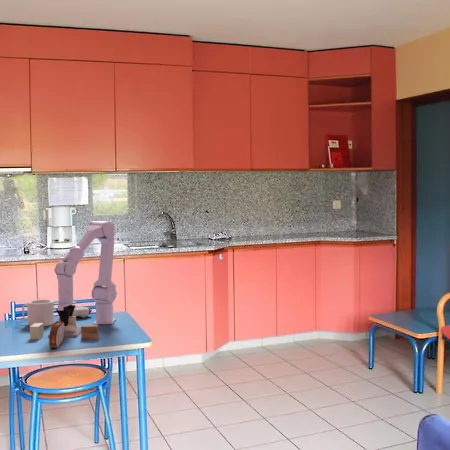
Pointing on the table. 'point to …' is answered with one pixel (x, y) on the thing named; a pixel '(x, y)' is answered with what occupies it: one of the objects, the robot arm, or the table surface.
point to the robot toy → (81, 311)
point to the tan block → (70, 323)
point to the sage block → (36, 331)
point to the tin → (56, 334)
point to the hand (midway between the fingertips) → (66, 324)
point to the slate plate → (72, 332)
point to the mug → (40, 312)
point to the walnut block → (90, 331)
